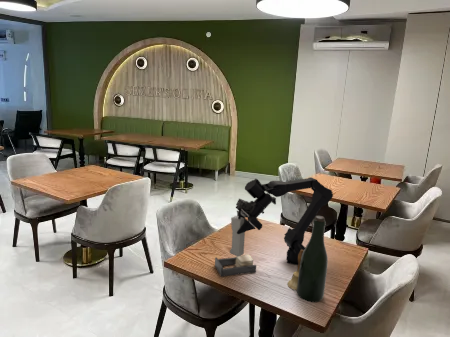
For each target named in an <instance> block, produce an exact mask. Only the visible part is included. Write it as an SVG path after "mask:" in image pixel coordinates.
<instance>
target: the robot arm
mask: <svg viewBox="0 0 450 337" xmlns="http://www.w3.org/2000/svg"><path fill="white" fill-rule="evenodd" d="M307 189H311V190H312V191H313V193H312V196H311V197H312V198H311V202H310V203H309V205H308V207H307V208H306V210H305V211H304V212H303V215H301V218H300V219H299V221H298V222H297V223H296V225H295V227H293V228H290V227H289V228H288V229H287V231H286V233H284V237H283V239H284V240H283V241H284V243H286V246H287V247H288V249H287V251H286V263H287V264H291V265H296V266H298V254H299V252H300V250H301V249H302V250H304V249H305V247H306V246H304V245H303V242H305V233H306V231H308V229H309V227H310V225H311V224H312V223H313V221H314V219H315V217H316V216H317V214H318V212H319V211H320V210H321V208H322V207H324V206H326V205H327V204H328V203H329V202H330V201H331V200H332V199H333V197H334V192H333V191H332V189H330V188H328V187H326V186H325V185H323V184H321V183H320V181H318V179H317V178H313V177H308V178H302V179H296V180H289V181H284V180H283V181H281V180H270V181H269V182H268V183H263V184H262V183H261V182H260V180H259V179H257V178H254V179H252V180H250V181H248V182H247V183H246V185H245V186H244V190H245V191H246V192H247V193H248V194H249V195H250V196H251V197H252V198H253V199H255V200H250V201H247V200H244V199H242V198H238V200H237V202H236V206H235V209H237V210H236V216H239V208H240V209H241V217H242V218H245V219H244V223H243V225H242V226H241V227H240V228H239V230H238V231H237V234H241V233H243V232H245V233H246V232H248V231H252V230H258V231H260V230H261V229H262V228H263V223H261V221H259V219H258V217H259V216H260V215H261V214H262V215H263V214H264V213H265V209H266V208H268V207H269V206H270V204H271V203H272V204H274V205H277V198H279V197H283V196H285V195H287V194H288V193H291V192H296V191H301V190H307ZM240 200H241V201H240Z"/></svg>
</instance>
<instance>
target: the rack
mask: <svg viewBox="0 0 450 337" xmlns="http://www.w3.org/2000/svg"><path fill="white" fill-rule="evenodd" d="M233 265H236V256H235V257H227V258H226V257H225V258H218V257H217V256H216V257H214V267H215V269H216V271H217V272H218V274H219V276H220V277H228V276H236V275H243V274H250V273H251V274H252V273H256V272H257V265H256V264H253V265H249V266H241V267H236V266H234V267H225V266H233ZM224 267H225V268H224Z"/></svg>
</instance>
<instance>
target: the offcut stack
mask: <svg viewBox="0 0 450 337" xmlns="http://www.w3.org/2000/svg"><path fill="white" fill-rule="evenodd" d="M235 257H236V264H235V266H234V267H241V266H249V265H254V259H253V258H252V257H251V256H250V254H243V255H241V256H239V257H238V256H235Z"/></svg>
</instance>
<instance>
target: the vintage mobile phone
mask: <svg viewBox="0 0 450 337" xmlns="http://www.w3.org/2000/svg"><path fill="white" fill-rule="evenodd" d="M240 201H241V200H240ZM238 211H239V216H237V215H234V216H232V217H231V219H230V220H231V221H230V222H231V226H230V227H231V234H232V237H231V248H230V250H229V254H231V255H233V256H235V257H236V256H238V257H239V256H242V255H245V254H244V253H245V239H246V238H245V236H246V232H243V233H241V234H237V231H238V230H239V228H240V227H241V226H242V225H243V223H244V219H245V218H246V217H245V218H242V217H241V209H240V208H239V210H238Z"/></svg>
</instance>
